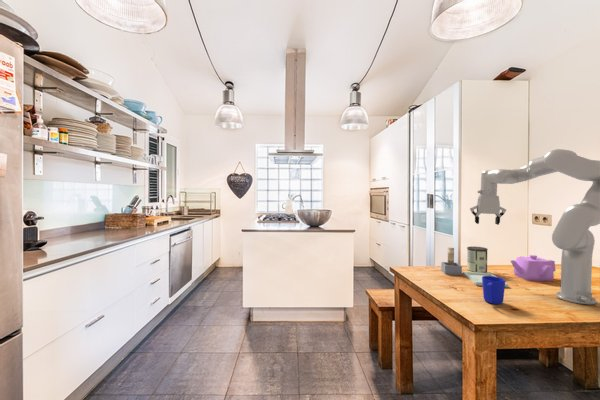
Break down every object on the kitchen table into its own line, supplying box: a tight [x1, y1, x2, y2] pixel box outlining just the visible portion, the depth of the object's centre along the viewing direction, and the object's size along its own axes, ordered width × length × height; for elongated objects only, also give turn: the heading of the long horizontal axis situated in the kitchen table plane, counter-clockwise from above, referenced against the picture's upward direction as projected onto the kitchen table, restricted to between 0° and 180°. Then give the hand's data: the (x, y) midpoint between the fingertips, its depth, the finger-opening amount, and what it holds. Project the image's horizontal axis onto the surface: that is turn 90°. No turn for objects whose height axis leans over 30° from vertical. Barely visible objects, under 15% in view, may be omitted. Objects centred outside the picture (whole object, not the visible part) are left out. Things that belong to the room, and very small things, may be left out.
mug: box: [482, 276, 506, 305], centre depth 120 cm, size 8×12×10 cm
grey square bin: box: [440, 261, 463, 276], centre depth 165 cm, size 9×9×6 cm
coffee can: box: [466, 246, 489, 273], centre depth 169 cm, size 10×10×14 cm
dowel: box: [447, 247, 455, 266], centre depth 165 cm, size 3×3×14 cm
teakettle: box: [510, 254, 556, 282], centre depth 156 cm, size 17×17×12 cm
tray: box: [462, 271, 509, 289], centre depth 151 cm, size 20×14×2 cm
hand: (487, 223), depth 158 cm, fingers open, 9 cm apart
